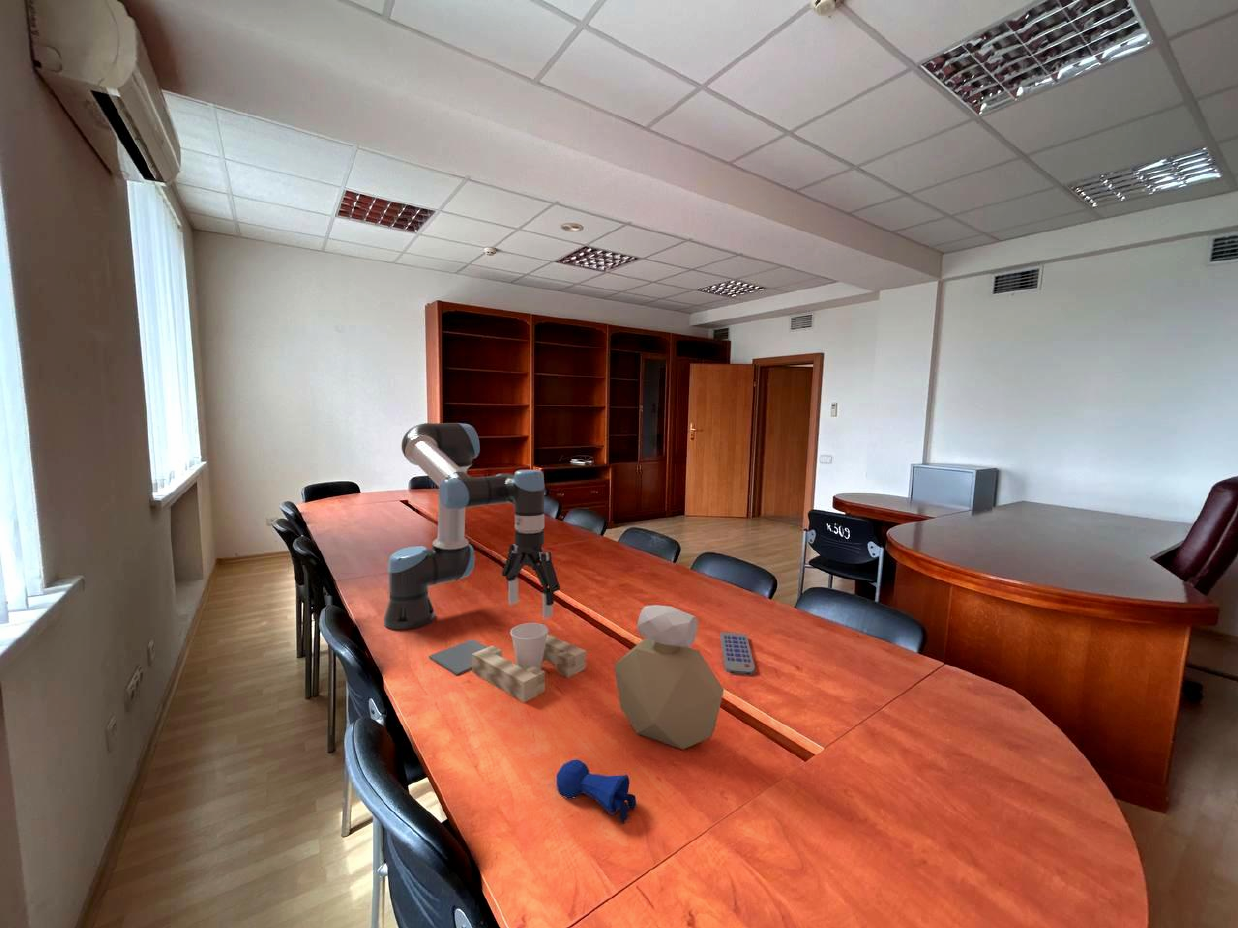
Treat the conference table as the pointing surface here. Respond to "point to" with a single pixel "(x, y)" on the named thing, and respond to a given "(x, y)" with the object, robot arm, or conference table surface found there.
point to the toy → (596, 787)
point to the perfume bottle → (668, 680)
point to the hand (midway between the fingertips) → (529, 610)
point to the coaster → (458, 656)
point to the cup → (529, 644)
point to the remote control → (737, 654)
